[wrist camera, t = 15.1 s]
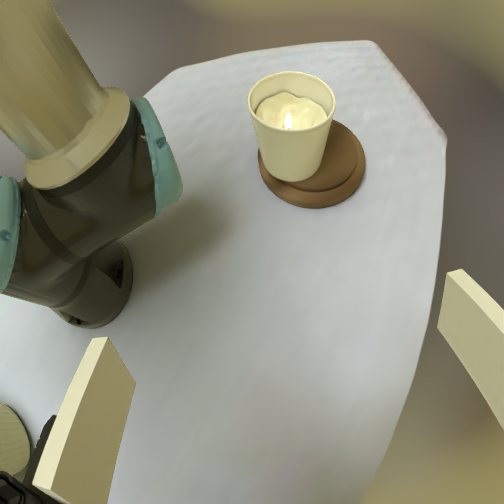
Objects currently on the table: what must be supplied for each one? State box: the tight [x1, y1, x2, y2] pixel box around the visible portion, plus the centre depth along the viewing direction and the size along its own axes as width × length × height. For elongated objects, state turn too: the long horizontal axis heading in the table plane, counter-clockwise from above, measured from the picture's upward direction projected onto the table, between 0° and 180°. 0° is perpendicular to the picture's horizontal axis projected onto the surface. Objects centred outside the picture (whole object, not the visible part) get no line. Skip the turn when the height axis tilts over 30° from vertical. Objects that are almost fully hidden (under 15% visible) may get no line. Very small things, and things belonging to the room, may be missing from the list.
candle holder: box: [247, 71, 336, 182], centre depth 37 cm, size 10×10×12 cm
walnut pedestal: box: [258, 119, 365, 208], centre depth 45 cm, size 16×16×4 cm
